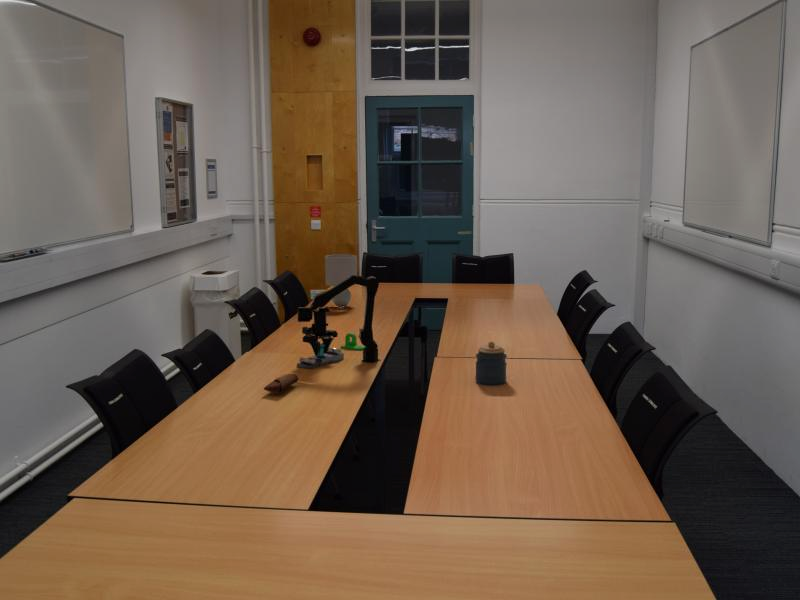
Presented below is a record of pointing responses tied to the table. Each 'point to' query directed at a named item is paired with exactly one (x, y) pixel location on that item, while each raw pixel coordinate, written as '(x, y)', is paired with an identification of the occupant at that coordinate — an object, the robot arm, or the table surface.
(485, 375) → the canister
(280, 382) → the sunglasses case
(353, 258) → the lamp
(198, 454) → the table surface
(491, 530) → the table surface
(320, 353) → the pin
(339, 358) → the plate
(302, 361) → the lower chain end
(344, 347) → the mechanical part
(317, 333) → the robot arm
